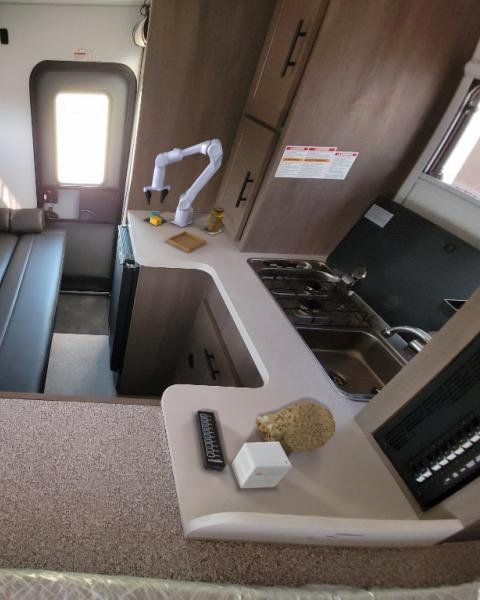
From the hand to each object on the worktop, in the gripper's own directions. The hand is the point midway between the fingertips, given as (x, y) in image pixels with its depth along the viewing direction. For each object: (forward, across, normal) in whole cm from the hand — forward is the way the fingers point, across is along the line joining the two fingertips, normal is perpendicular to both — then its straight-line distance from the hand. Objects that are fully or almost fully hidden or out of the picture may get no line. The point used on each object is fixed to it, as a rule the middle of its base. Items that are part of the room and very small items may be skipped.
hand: (154, 203), depth 181 cm
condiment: (+10, +26, -20) cm, 34 cm away
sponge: (+10, -15, -130) cm, 131 cm away
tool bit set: (+10, -38, -127) cm, 133 cm away
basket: (+9, +6, -30) cm, 32 cm away
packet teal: (+9, +1, 0) cm, 9 cm away
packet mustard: (+9, -1, -6) cm, 11 cm away
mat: (+9, +1, -2) cm, 10 cm away
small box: (+10, -33, -137) cm, 141 cm away
